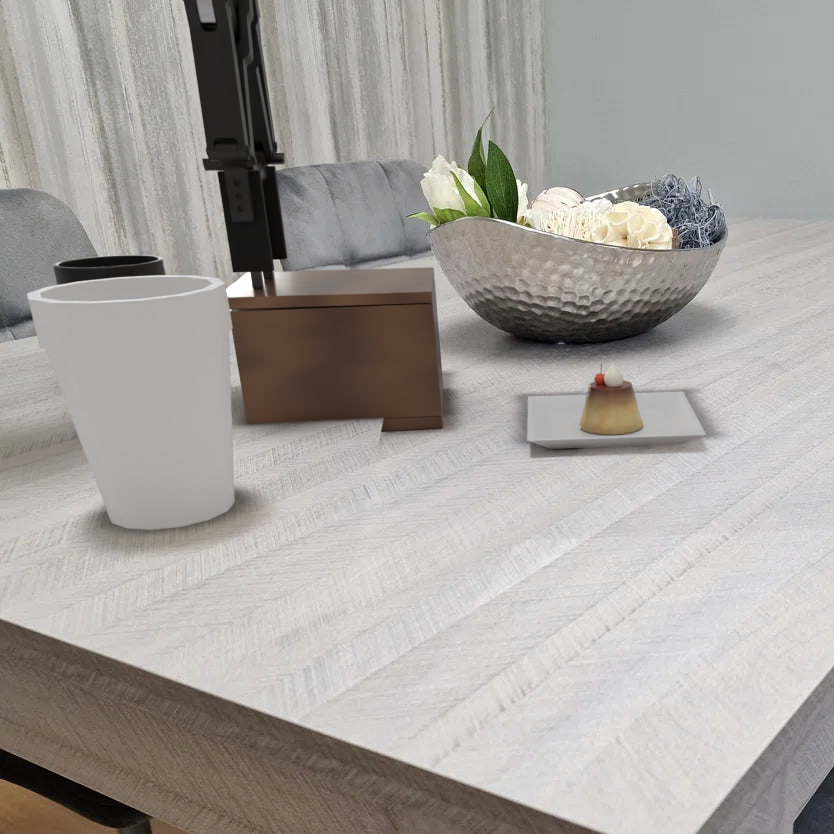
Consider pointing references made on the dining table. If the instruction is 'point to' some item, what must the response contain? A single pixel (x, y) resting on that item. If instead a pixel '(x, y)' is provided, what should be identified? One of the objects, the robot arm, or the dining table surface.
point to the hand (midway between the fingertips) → (261, 264)
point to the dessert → (611, 417)
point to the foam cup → (146, 391)
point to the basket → (341, 364)
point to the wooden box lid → (330, 285)
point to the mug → (108, 268)
